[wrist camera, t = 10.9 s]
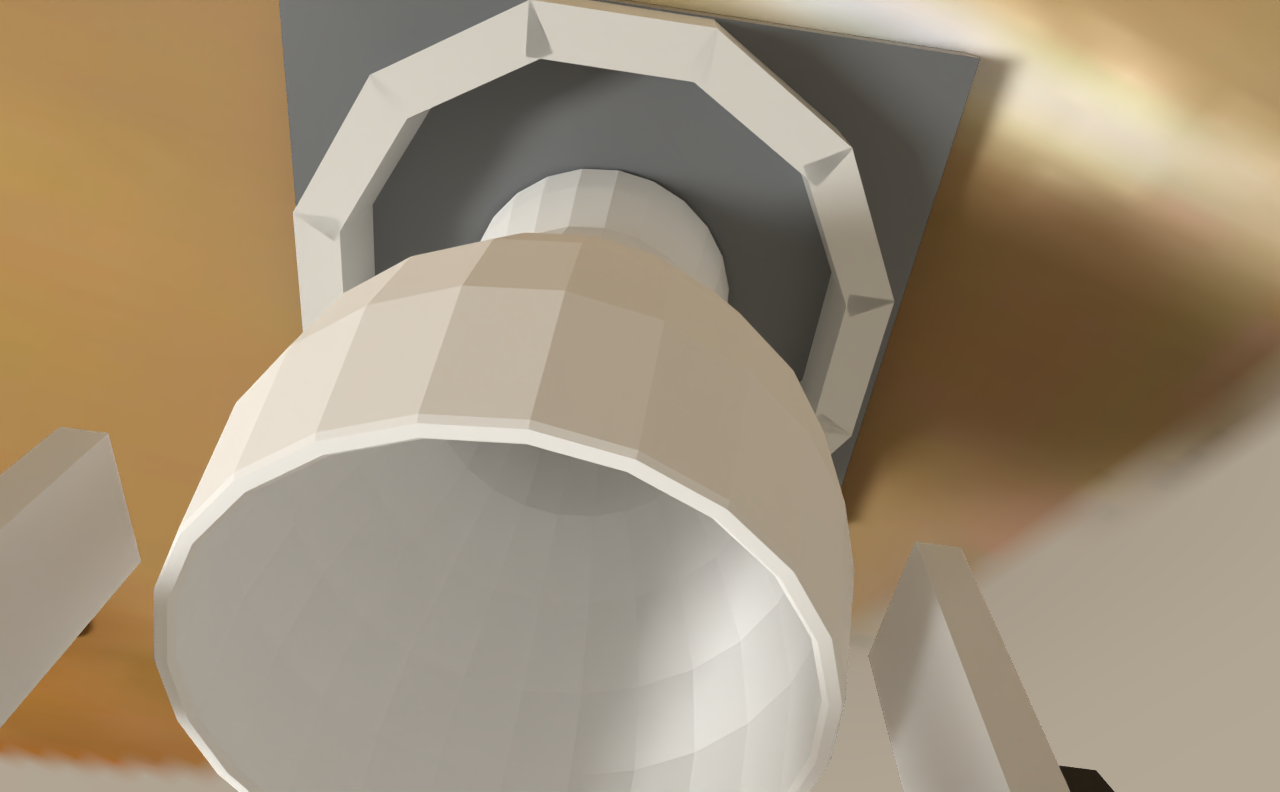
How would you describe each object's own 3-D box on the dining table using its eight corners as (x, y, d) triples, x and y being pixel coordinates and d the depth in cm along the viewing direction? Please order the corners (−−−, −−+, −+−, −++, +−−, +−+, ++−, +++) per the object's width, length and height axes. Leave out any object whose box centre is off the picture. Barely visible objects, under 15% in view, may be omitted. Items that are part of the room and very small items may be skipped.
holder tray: (295, -51, 21) (223, -51, 18) (965, 52, 21) (1015, 71, 18) (331, 449, 29) (286, 513, 26) (819, 518, 29) (835, 589, 26)
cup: (852, 278, 23) (1063, 699, 10) (626, 497, 28) (572, 988, 15) (564, 25, 20) (345, 164, 7) (361, 314, 25) (-4, 725, 12)
